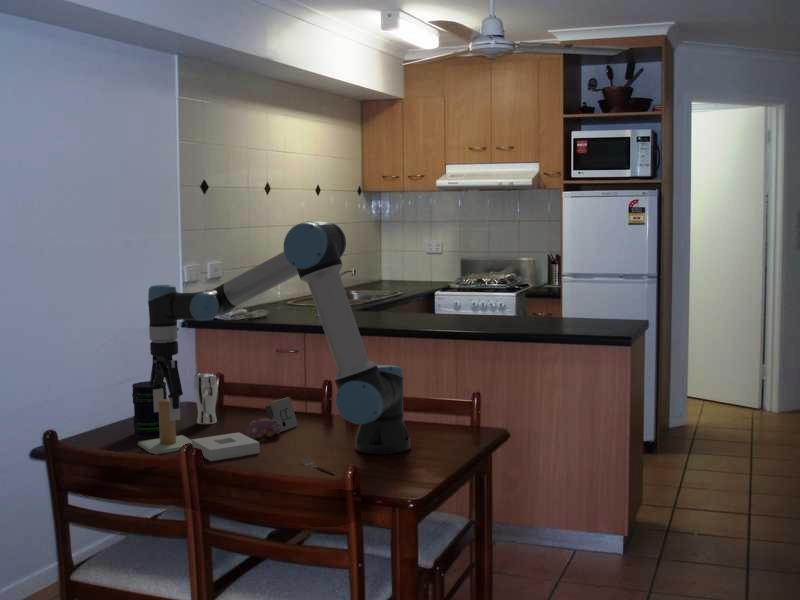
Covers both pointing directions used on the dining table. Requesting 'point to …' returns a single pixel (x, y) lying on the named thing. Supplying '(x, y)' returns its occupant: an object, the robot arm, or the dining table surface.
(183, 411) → the dining table surface
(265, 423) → the pink animal figurine
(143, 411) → the storage jar
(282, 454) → the dining table surface
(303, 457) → the fork
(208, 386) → the beer glass
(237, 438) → the white square flat box
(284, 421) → the electrical switch
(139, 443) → the mat
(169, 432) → the plug
